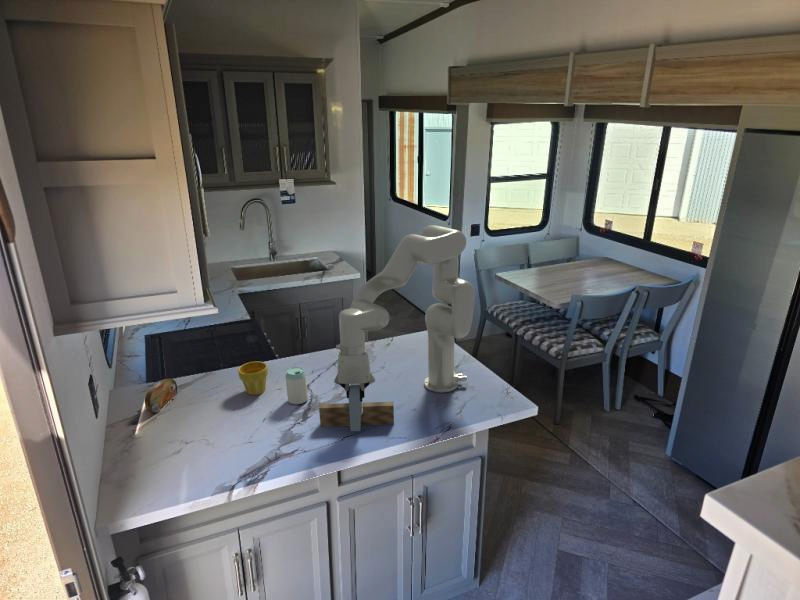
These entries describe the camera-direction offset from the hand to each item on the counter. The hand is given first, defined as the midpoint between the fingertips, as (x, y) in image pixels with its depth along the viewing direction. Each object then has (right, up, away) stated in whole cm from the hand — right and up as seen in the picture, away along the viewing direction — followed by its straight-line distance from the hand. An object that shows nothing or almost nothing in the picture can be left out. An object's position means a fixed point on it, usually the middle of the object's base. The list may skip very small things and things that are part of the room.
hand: (355, 399), depth 169 cm
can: (-22, -4, +18) cm, 29 cm away
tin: (-70, -6, +17) cm, 72 cm away
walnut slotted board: (0, -9, +3) cm, 9 cm away
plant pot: (-39, -2, +25) cm, 47 cm away
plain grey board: (0, -6, +2) cm, 7 cm away
